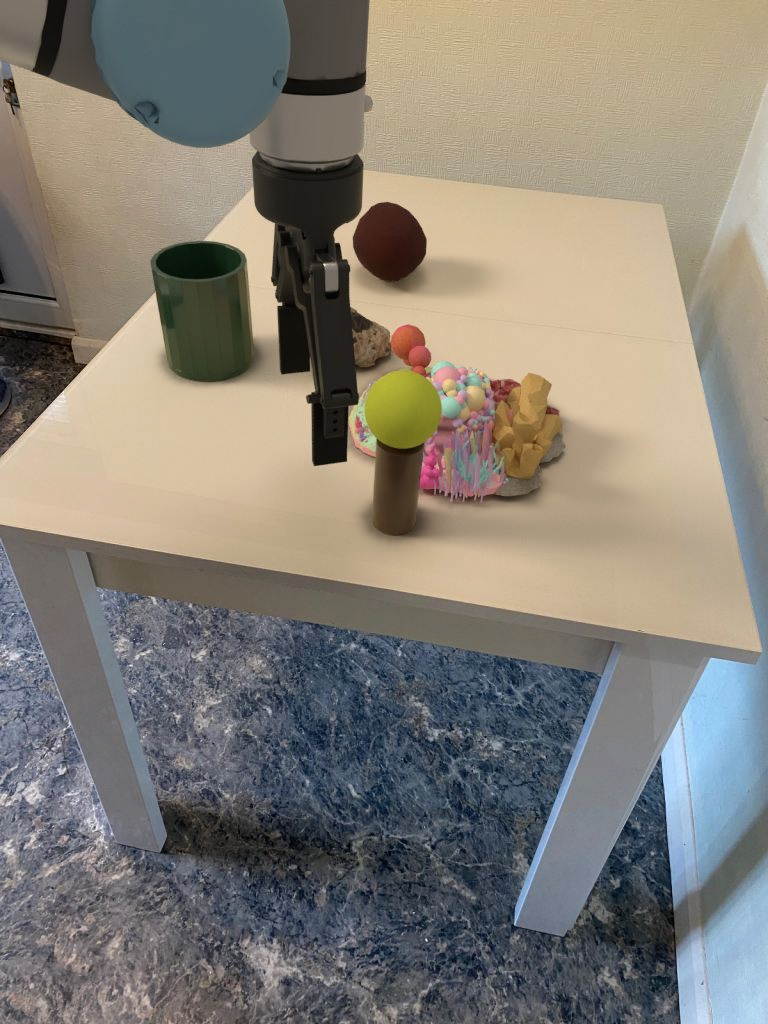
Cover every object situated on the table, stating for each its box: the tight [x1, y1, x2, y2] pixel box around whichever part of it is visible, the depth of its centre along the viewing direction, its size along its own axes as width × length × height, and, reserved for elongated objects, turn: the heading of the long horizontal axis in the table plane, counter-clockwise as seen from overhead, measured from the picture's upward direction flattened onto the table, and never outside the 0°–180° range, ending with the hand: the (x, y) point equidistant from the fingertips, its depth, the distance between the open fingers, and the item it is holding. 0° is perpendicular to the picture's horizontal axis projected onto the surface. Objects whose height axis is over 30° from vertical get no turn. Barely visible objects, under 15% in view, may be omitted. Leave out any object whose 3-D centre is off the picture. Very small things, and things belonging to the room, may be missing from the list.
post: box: [371, 439, 424, 536], centre depth 70 cm, size 4×4×10 cm
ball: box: [364, 370, 442, 449], centre depth 65 cm, size 7×7×7 cm
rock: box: [350, 306, 392, 368], centre depth 94 cm, size 9×7×10 cm
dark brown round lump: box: [352, 201, 428, 282], centre depth 110 cm, size 11×13×10 cm
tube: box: [149, 240, 255, 382], centre depth 89 cm, size 11×11×13 cm
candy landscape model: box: [348, 324, 566, 503], centre depth 82 cm, size 25×24×9 cm
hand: (311, 413), depth 64 cm, fingers open, 13 cm apart
